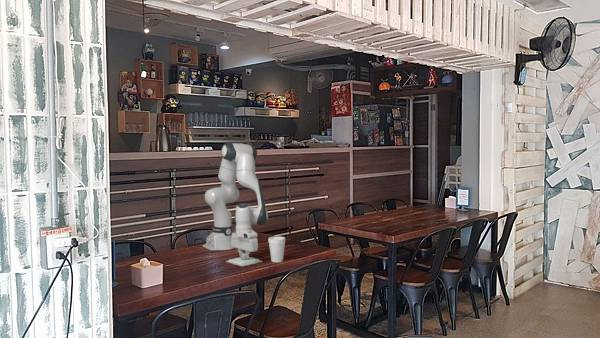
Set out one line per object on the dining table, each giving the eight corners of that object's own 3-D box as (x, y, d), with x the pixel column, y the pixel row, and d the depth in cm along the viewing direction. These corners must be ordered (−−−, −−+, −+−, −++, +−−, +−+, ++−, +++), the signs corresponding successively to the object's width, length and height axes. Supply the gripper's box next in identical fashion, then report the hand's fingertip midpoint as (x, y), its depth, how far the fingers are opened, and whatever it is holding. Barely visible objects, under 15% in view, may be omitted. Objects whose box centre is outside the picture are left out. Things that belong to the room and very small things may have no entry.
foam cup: (283, 263, 272) (282, 240, 271) (266, 262, 274) (266, 239, 273) (287, 259, 281) (286, 236, 280) (271, 258, 283) (271, 236, 282)
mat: (226, 261, 277) (226, 260, 277) (245, 257, 286) (245, 256, 286) (242, 266, 266) (242, 265, 266) (262, 261, 276) (262, 260, 276)
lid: (229, 261, 276) (228, 253, 276) (246, 257, 285) (245, 250, 284) (242, 264, 268) (242, 256, 267) (259, 260, 276) (259, 253, 276)
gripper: (228, 231, 280) (228, 255, 281) (250, 235, 266) (251, 261, 267) (236, 229, 285) (237, 253, 286) (259, 234, 270) (260, 259, 271)
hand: (244, 257), depth 276 cm, fingers closed on lid, 3 cm apart
